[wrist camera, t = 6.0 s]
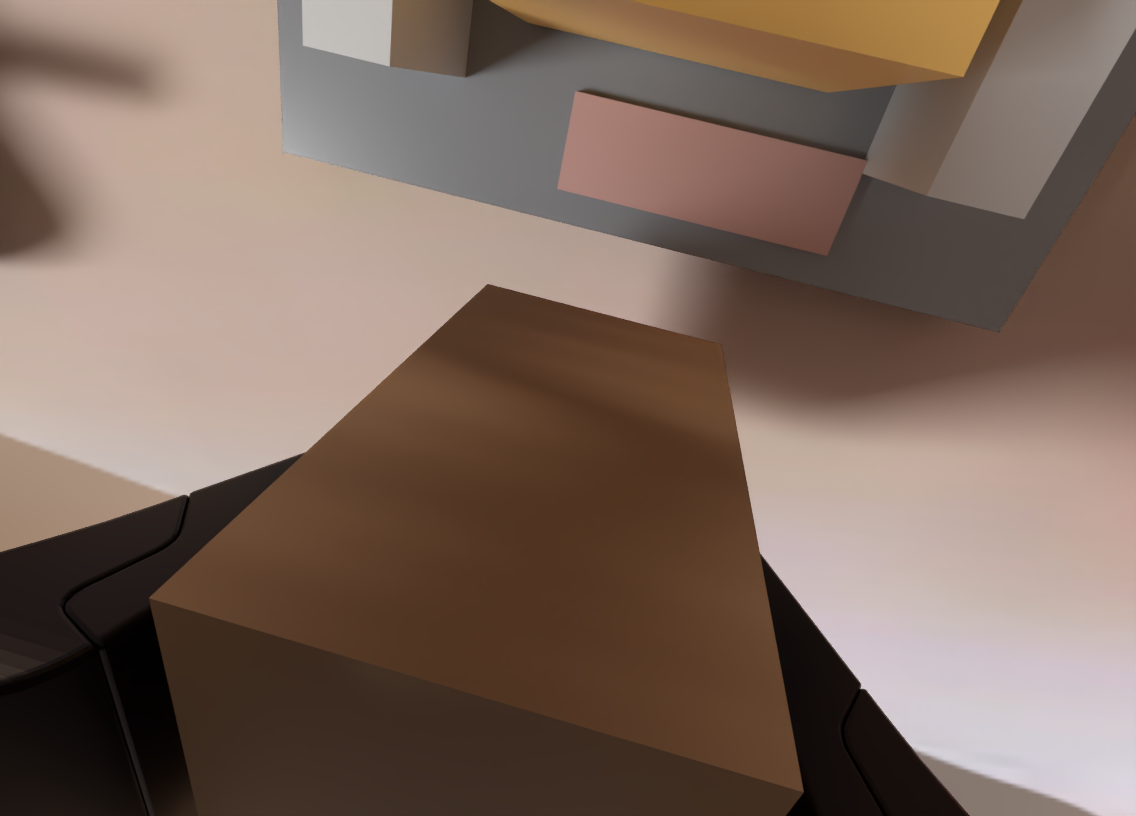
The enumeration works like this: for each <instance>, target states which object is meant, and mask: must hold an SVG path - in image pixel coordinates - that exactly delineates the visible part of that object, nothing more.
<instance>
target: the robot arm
mask: <svg viewBox="0 0 1136 816" xmlns="http://www.w3.org/2000/svg"><path fill="white" fill-rule="evenodd" d="M305 453H306V452H305ZM305 453H302V454H299V455H297V456H294V457H291V458H288V459H285V460H282V461H279V462H277V463H274V464H271V465H268V466H265V467H262V468H259V469H257V470H254V471H251V472H248V473H245V474H242V475H239V476H237V477H234V478H231V479H228V480H225V481H222V482H219V483H217V484H214V485H211V486H208V487H205V488H202V489H199V490H197V491H194V492H192V493H190V495H189V497H188V496H187V495H182V496H179V497H176V498H173V499H171V500H168V501H165V502H162V503H159V504H156V505H153V506H151V507H148V508H144V509H141V510H138V511H135V512H132V513H129V514H126V515H123V516H120V517H117V518H114V519H111V520H108V521H105V522H102V523H99V524H95V525H92V526H89V527H85V528H82V529H79V530H75V531H72V532H69V533H65V534H62V535H58V536H55V537H52V538H48V539H45V540H41V541H38V542H35V543H31V544H27V545H24V546H20V547H17V548H13V549H10V550H6V551H3V552H0V816H198V813H197V808H196V804H195V799H194V795H193V791H192V786H191V782H190V777H189V773H188V769H187V764H186V760H185V756H184V751H183V747H182V742H181V738H180V734H179V729H178V725H177V720H176V716H175V712H174V707H173V703H172V698H171V694H170V690H169V685H168V681H167V676H166V672H165V668H164V663H163V659H162V654H161V650H160V646H159V641H158V637H157V632H156V628H155V624H154V619H153V615H152V610H151V606H150V602H149V597H150V596H151V595H153V594H154V593H155V592H156V591H157V590H158V589H159V588H160V587H161V586H162V585H163V584H164V583H165V582H167V581H168V580H169V579H170V578H171V577H172V576H173V575H174V574H175V573H176V572H177V571H178V570H180V569H181V568H182V567H183V566H184V565H185V564H186V563H187V562H188V561H189V560H190V559H191V558H192V557H194V556H195V555H196V554H197V553H198V552H199V551H200V550H201V549H202V548H203V547H204V546H205V545H206V544H208V543H209V542H210V541H211V540H212V539H213V538H214V537H215V536H216V535H217V534H218V533H219V532H221V531H222V530H223V529H224V528H225V527H226V526H227V525H228V524H229V523H230V522H231V521H232V520H233V519H235V518H236V517H237V516H238V515H239V514H240V513H241V512H242V511H243V510H244V509H245V508H246V507H248V506H249V505H250V504H251V503H252V502H253V501H254V500H255V499H256V498H257V497H258V496H259V495H260V494H262V493H263V492H264V491H265V490H266V489H267V488H268V487H269V486H270V485H271V484H272V483H273V482H275V481H276V480H277V479H278V478H279V477H280V476H281V475H282V474H283V473H284V472H285V471H286V470H287V469H289V468H290V467H291V466H292V465H293V464H294V463H295V462H296V461H297V460H298V459H299V458H300V457H301V456H303V455H304V454H305ZM760 557H761V563H762V568H763V574H764V579H765V584H766V590H767V595H768V601H769V606H770V611H771V617H772V622H773V628H774V633H775V639H776V644H777V649H778V655H779V660H780V666H781V671H782V677H783V682H784V687H785V693H786V698H787V704H788V709H789V715H790V720H791V725H792V731H793V736H794V742H795V747H796V753H797V758H798V763H799V769H800V774H801V780H802V785H803V791H804V793H803V794H802V795H801V797H800V798H799V799H798V800H797V802H796V803H795V804H794V806H793V807H792V808H791V809H790V811H789V812H788V813H787V815H786V816H970V815H968V813H967V812H966V811H965V810H964V809H963V807H962V806H961V805H960V804H959V803H958V802H957V801H956V799H955V798H954V797H953V796H952V795H951V794H950V792H949V791H948V790H947V789H946V788H945V787H944V785H943V784H942V783H941V782H940V781H939V780H938V778H937V777H936V776H935V775H934V774H933V773H932V771H931V770H930V769H929V768H928V767H927V766H926V764H925V763H924V762H923V761H922V760H921V759H920V757H919V756H918V755H917V754H916V752H915V751H914V750H913V749H912V747H911V746H910V745H909V744H908V742H907V741H906V740H905V739H904V737H903V736H902V735H901V734H900V732H899V731H898V730H897V729H896V727H895V726H894V725H893V724H892V722H891V721H890V720H889V719H888V718H887V716H886V715H885V714H884V712H883V711H882V710H881V708H880V707H879V706H878V705H877V703H876V702H875V701H874V699H873V698H872V697H871V696H870V694H869V693H868V692H867V690H865V689H860V688H861V683H860V682H859V680H858V679H857V678H856V677H855V675H854V674H853V673H852V671H851V670H850V669H849V667H848V666H847V665H846V664H845V662H844V661H843V660H842V658H841V657H840V656H839V655H838V653H837V652H836V651H835V649H834V648H833V647H832V645H831V644H830V643H829V642H828V640H827V639H826V638H825V636H824V635H823V634H822V633H821V631H820V630H819V629H818V627H817V626H816V625H815V623H814V622H813V621H812V620H811V618H810V617H809V616H808V614H807V613H806V612H805V611H804V609H803V608H802V607H801V605H800V604H799V603H798V601H797V600H796V599H795V598H794V596H793V595H792V594H791V592H790V591H789V590H788V589H787V587H786V586H785V585H784V583H783V582H782V581H781V579H780V578H779V577H778V576H777V574H776V573H775V572H774V570H773V569H772V568H771V567H770V565H769V564H768V563H767V561H766V560H765V559H764V558H763V556H762V555H761V554H760Z"/></svg>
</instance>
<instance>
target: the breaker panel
mask: <svg viewBox="0 0 1136 816" xmlns="http://www.w3.org/2000/svg"><path fill="white" fill-rule="evenodd" d="M277 3H278V30H279V56H280V83H281V110H282V137H283V152H284V153H288V154H292V155H296V156H300V157H304V158H308V159H312V160H316V161H320V162H324V163H328V164H332V165H336V166H340V167H344V168H348V169H351V170H355V171H359V172H363V173H367V174H371V175H375V176H379V177H383V178H387V179H391V180H395V181H399V182H403V183H407V184H411V185H415V186H419V187H423V188H427V189H431V190H435V191H439V192H443V193H447V194H451V195H455V196H459V197H463V198H467V199H471V200H475V201H479V202H483V203H487V204H491V205H495V206H499V207H502V208H506V209H510V210H514V211H518V212H522V213H526V214H530V215H534V216H538V217H542V218H546V219H550V220H554V221H558V222H562V223H566V224H570V225H574V226H578V227H582V228H586V229H590V230H594V231H598V232H602V233H606V234H610V235H614V236H618V237H622V238H626V239H630V240H634V241H638V242H642V243H646V244H650V245H654V246H657V247H661V248H665V249H669V250H673V251H677V252H681V253H685V254H689V255H693V256H697V257H701V258H705V259H709V260H713V261H717V262H721V263H725V264H729V265H733V266H737V267H741V268H745V269H749V270H753V271H757V272H761V273H765V274H769V275H773V276H777V277H781V278H785V279H789V280H793V281H797V282H801V283H805V284H809V285H812V286H816V287H820V288H824V289H828V290H832V291H836V292H840V293H844V294H848V295H852V296H856V297H860V298H864V299H868V300H872V301H876V302H880V303H884V304H888V305H892V306H896V307H900V308H904V309H908V310H912V311H916V312H920V313H924V314H928V315H932V316H936V317H940V318H944V319H948V320H952V321H956V322H960V323H963V324H967V325H971V326H975V327H979V328H983V329H987V330H991V331H995V332H1000V330H1001V328H1002V327H1003V325H1004V324H1005V322H1006V320H1007V319H1008V317H1009V316H1010V314H1011V312H1012V311H1013V309H1014V307H1015V306H1016V304H1017V303H1018V301H1019V299H1020V298H1021V296H1022V295H1023V293H1024V291H1025V290H1026V288H1027V287H1028V285H1029V283H1030V282H1031V280H1032V279H1033V277H1034V275H1035V274H1036V272H1037V271H1038V269H1039V267H1040V266H1041V264H1042V263H1043V261H1044V259H1045V258H1046V256H1047V255H1048V253H1049V251H1050V250H1051V248H1052V247H1053V245H1054V243H1055V242H1056V240H1057V238H1058V237H1059V235H1060V234H1061V232H1062V230H1063V229H1064V227H1065V226H1066V224H1067V222H1068V221H1069V219H1070V218H1071V216H1072V214H1073V213H1074V211H1075V210H1076V208H1077V206H1078V205H1079V203H1080V202H1081V200H1082V198H1083V197H1084V195H1085V194H1086V192H1087V190H1088V189H1089V187H1090V186H1091V184H1092V182H1093V181H1094V179H1095V177H1096V176H1097V174H1098V173H1099V171H1100V169H1101V168H1102V166H1103V165H1104V163H1105V161H1106V160H1107V158H1108V157H1109V155H1110V153H1111V152H1112V150H1113V149H1114V147H1115V145H1116V144H1117V142H1118V141H1119V139H1120V137H1121V136H1122V134H1123V133H1124V131H1125V129H1126V128H1127V126H1128V125H1129V123H1130V121H1131V120H1132V118H1133V117H1134V115H1135V113H1136V0H1000V2H999V4H998V6H997V8H996V10H995V12H994V14H993V16H992V18H991V20H990V22H989V25H988V27H987V29H986V31H985V33H984V35H983V37H982V39H981V41H980V43H979V46H978V48H977V50H976V52H975V54H974V56H973V58H972V60H971V62H970V64H969V67H968V69H967V71H966V73H965V75H964V77H959V78H951V79H942V80H933V81H925V82H916V83H908V84H899V85H890V86H882V87H873V88H864V89H856V90H847V91H838V92H830V93H826V92H822V91H818V90H813V89H809V88H805V87H800V86H796V85H792V84H788V83H783V82H779V81H775V80H771V79H766V78H762V77H758V76H753V75H749V74H745V73H741V72H736V71H732V70H728V69H723V68H719V67H715V66H711V65H706V64H702V63H698V62H693V61H689V60H685V59H681V58H676V57H672V56H668V55H664V54H659V53H655V52H651V51H646V50H642V49H638V48H634V47H629V46H625V45H621V44H616V43H612V42H608V41H604V40H599V39H595V38H591V37H586V36H582V35H578V34H574V33H569V32H565V31H561V30H557V29H552V28H548V27H544V26H539V25H535V24H531V23H527V22H526V21H524V20H522V19H521V18H519V17H517V16H515V15H514V14H512V13H510V12H508V11H507V10H505V9H503V8H502V7H500V6H498V5H496V4H495V3H493V2H491V1H489V0H277Z"/></svg>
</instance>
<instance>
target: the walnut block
mask: <svg viewBox="0 0 1136 816" xmlns="http://www.w3.org/2000/svg"><path fill="white" fill-rule="evenodd" d="M149 602H150V606H151V610H152V615H153V619H154V624H155V628H156V632H157V637H158V641H159V646H160V650H161V654H162V659H163V663H164V668H165V672H166V676H167V681H168V685H169V690H170V694H171V698H172V703H173V707H174V712H175V716H176V720H177V725H178V729H179V734H180V738H181V742H182V747H183V751H184V756H185V760H186V764H187V769H188V773H189V777H190V782H191V786H192V791H193V795H194V799H195V804H196V808H197V813H198V816H786V815H787V813H788V812H789V811H790V809H791V808H792V807H793V806H794V804H795V803H796V802H797V800H798V799H799V798H800V797H801V795H802V794H803V793H804V791H803V785H802V780H801V774H800V769H799V763H798V758H797V753H796V747H795V742H794V736H793V731H792V725H791V720H790V715H789V709H788V704H787V698H786V693H785V687H784V682H783V677H782V671H781V666H780V660H779V655H778V649H777V644H776V639H775V633H774V628H773V622H772V617H771V611H770V606H769V601H768V595H767V590H766V584H765V579H764V574H763V568H762V563H761V557H760V552H759V546H758V541H757V536H756V530H755V525H754V519H753V514H752V508H751V503H750V498H749V492H748V487H747V481H746V476H745V470H744V465H743V460H742V454H741V449H740V443H739V438H738V432H737V427H736V422H735V416H734V411H733V405H732V400H731V394H730V389H729V384H728V378H727V373H726V367H725V362H724V356H723V351H722V346H721V344H717V343H713V342H710V341H706V340H702V339H698V338H694V337H690V336H686V335H683V334H679V333H675V332H671V331H667V330H663V329H659V328H655V327H652V326H648V325H644V324H640V323H636V322H632V321H628V320H625V319H621V318H617V317H613V316H609V315H605V314H601V313H598V312H594V311H590V310H586V309H582V308H578V307H574V306H570V305H567V304H563V303H559V302H555V301H551V300H547V299H543V298H540V297H536V296H532V295H528V294H524V293H520V292H516V291H513V290H509V289H505V288H501V287H497V286H493V285H489V284H487V285H486V286H485V287H484V288H483V289H482V290H481V291H480V292H479V293H477V294H476V295H475V296H474V297H473V298H472V299H471V300H470V301H469V302H468V303H467V304H466V305H465V306H463V307H462V308H461V309H460V310H459V311H458V312H457V313H456V314H455V315H454V316H453V317H452V318H450V319H449V320H448V321H447V322H446V323H445V324H444V325H443V326H442V327H441V328H440V329H439V330H438V331H436V332H435V333H434V334H433V335H432V336H431V337H430V338H429V339H428V340H427V341H426V342H425V343H423V344H422V345H421V346H420V347H419V348H418V349H417V350H416V351H415V352H414V353H413V354H412V355H411V356H409V357H408V358H407V359H406V360H405V361H404V362H403V363H402V364H401V365H400V366H399V367H398V368H396V369H395V370H394V371H393V372H392V373H391V374H390V375H389V376H388V377H387V378H386V379H385V380H384V381H382V382H381V383H380V384H379V385H378V386H377V387H376V388H375V389H374V390H373V391H372V392H371V393H370V394H368V395H367V396H366V397H365V398H364V399H363V400H362V401H361V402H360V403H359V404H358V405H357V406H355V407H354V408H353V409H352V410H351V411H350V412H349V413H348V414H347V415H346V416H345V417H344V418H343V419H341V420H340V421H339V422H338V423H337V424H336V425H335V426H334V427H333V428H332V429H331V430H330V431H328V432H327V433H326V434H325V435H324V436H323V437H322V438H321V439H320V440H319V441H318V442H317V443H316V444H314V445H313V446H312V447H311V448H310V449H309V450H308V451H307V452H306V453H305V454H304V455H303V456H301V457H300V458H299V459H298V460H297V461H296V462H295V463H294V464H293V465H292V466H291V467H290V468H289V469H287V470H286V471H285V472H284V473H283V474H282V475H281V476H280V477H279V478H278V479H277V480H276V481H275V482H273V483H272V484H271V485H270V486H269V487H268V488H267V489H266V490H265V491H264V492H263V493H262V494H260V495H259V496H258V497H257V498H256V499H255V500H254V501H253V502H252V503H251V504H250V505H249V506H248V507H246V508H245V509H244V510H243V511H242V512H241V513H240V514H239V515H238V516H237V517H236V518H235V519H233V520H232V521H231V522H230V523H229V524H228V525H227V526H226V527H225V528H224V529H223V530H222V531H221V532H219V533H218V534H217V535H216V536H215V537H214V538H213V539H212V540H211V541H210V542H209V543H208V544H206V545H205V546H204V547H203V548H202V549H201V550H200V551H199V552H198V553H197V554H196V555H195V556H194V557H192V558H191V559H190V560H189V561H188V562H187V563H186V564H185V565H184V566H183V567H182V568H181V569H180V570H178V571H177V572H176V573H175V574H174V575H173V576H172V577H171V578H170V579H169V580H168V581H167V582H165V583H164V584H163V585H162V586H161V587H160V588H159V589H158V590H157V591H156V592H155V593H154V594H153V595H151V596H150V597H149Z"/></svg>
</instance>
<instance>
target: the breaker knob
mask: <svg viewBox="0 0 1136 816" xmlns="http://www.w3.org/2000/svg"><path fill="white" fill-rule="evenodd" d="M489 1H491V2H493V3H495V4H496V5H498V6H500V7H502V8H503V9H505V10H507V11H508V12H510V13H512V14H514V15H515V16H517V17H519V18H521V19H522V20H524V21H526V22H527V23H531V24H535V25H539V26H544V27H548V28H552V29H557V30H561V31H565V32H569V33H574V34H578V35H582V36H586V37H591V38H595V39H599V40H604V41H608V42H612V43H616V44H621V45H625V46H629V47H634V48H638V49H642V50H646V51H651V52H655V53H659V54H664V55H668V56H672V57H676V58H681V59H685V60H689V61H693V62H698V63H702V64H706V65H711V66H715V67H719V68H723V69H728V70H732V71H736V72H741V73H745V74H749V75H753V76H758V77H762V78H766V79H771V80H775V81H779V82H783V83H788V84H792V85H796V86H800V87H805V88H809V89H813V90H818V91H822V92H826V93H830V92H838V91H847V90H856V89H864V88H873V87H882V86H890V85H899V84H908V83H916V82H925V81H933V80H942V79H951V78H959V77H964V75H965V73H966V71H967V69H968V67H969V64H970V62H971V60H972V58H973V56H974V54H975V52H976V50H977V48H978V46H979V43H980V41H981V39H982V37H983V35H984V33H985V31H986V29H987V27H988V25H989V22H990V20H991V18H992V16H993V14H994V12H995V10H996V8H997V6H998V4H999V2H1000V0H489Z"/></svg>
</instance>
